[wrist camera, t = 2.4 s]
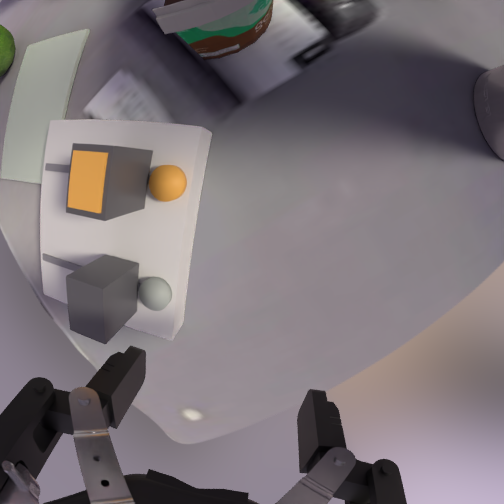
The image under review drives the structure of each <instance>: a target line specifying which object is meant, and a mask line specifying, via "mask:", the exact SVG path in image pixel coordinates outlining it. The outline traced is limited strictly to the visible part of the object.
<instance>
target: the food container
mask: <svg viewBox="0 0 504 504" xmlns="http://www.w3.org/2000/svg"><path fill="white" fill-rule="evenodd" d="M272 8H273V0H165V4H164V6H163V7H158V8H154V9H152V11H153V12H154V13H155V15H156V16H157V17H156V20H157V22H158V24H159V25H160V27H161V29H162V30H163V32H164V34H168V33H173V32H176V33H177V34H178V35H179V36H180V37H181V38H182V39H183V40H184V41H185V42H186V43H187V44H189V45H190V46H191V47H192V48H193V49H194V50H195V51H196V52H197V53H198V54H199V55H200V56H201V57H202V58H203V59H204V60H205V59H215V58H221V57H224V56H227V55H230V54H234V53H237V52H239V51H241V50H242V49H244V48H246V47H248V46H249V45H251V44H253V43H254V42H255V41H256V40H257V39H258V38H259V37H260V36H261V35H262V34H263V33H264V32H265V31H266V29H267V27H268V25H269V23H270V21H271V17H272Z"/></svg>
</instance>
